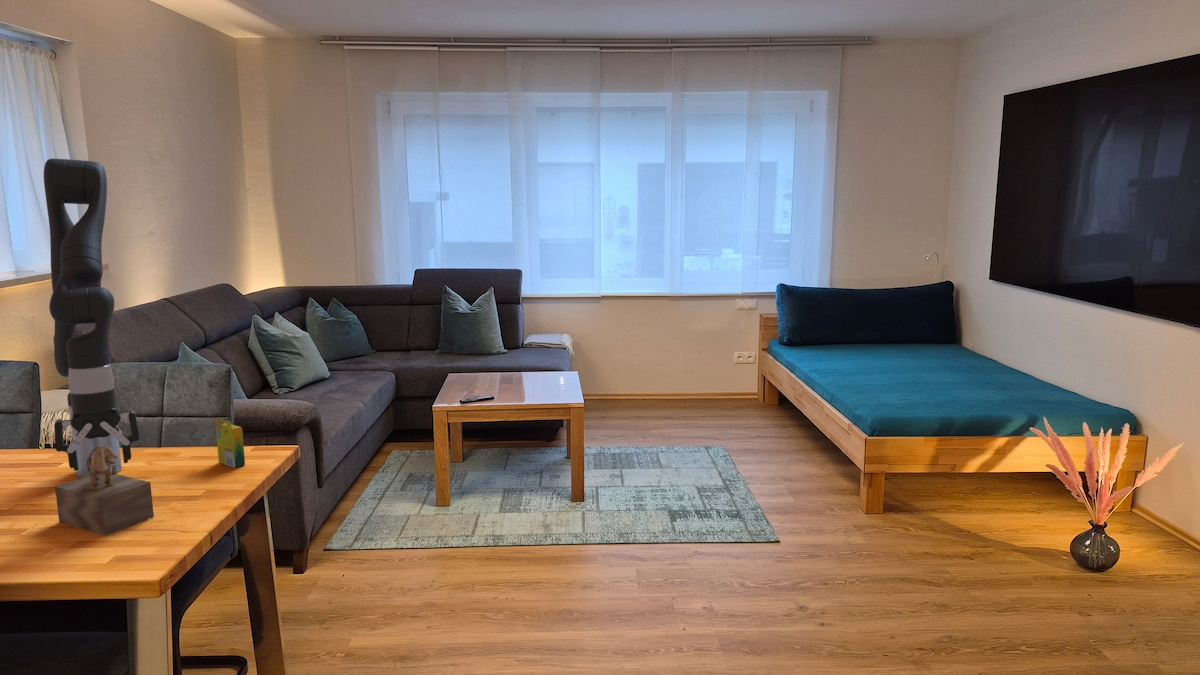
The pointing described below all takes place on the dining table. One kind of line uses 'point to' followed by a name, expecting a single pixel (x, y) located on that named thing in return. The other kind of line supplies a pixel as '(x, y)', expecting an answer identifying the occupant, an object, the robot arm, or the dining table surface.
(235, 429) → the crayon box
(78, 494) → the brown wooden block
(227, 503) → the dining table surface
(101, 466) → the lion figurine
